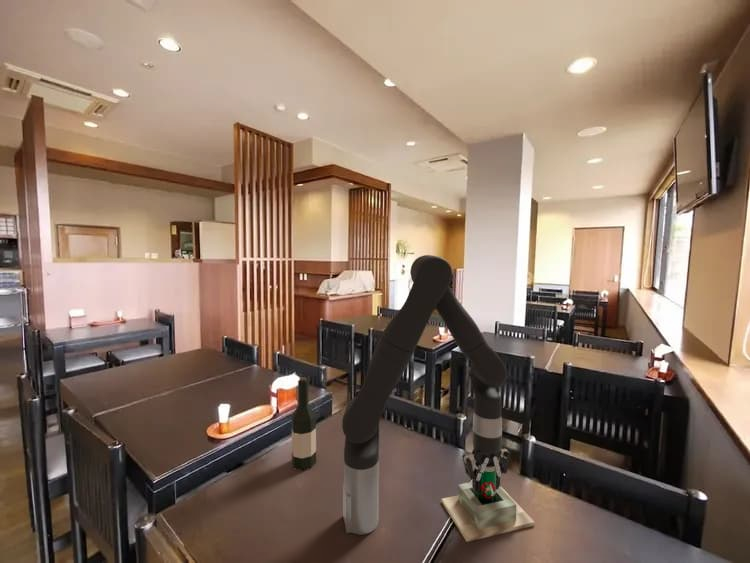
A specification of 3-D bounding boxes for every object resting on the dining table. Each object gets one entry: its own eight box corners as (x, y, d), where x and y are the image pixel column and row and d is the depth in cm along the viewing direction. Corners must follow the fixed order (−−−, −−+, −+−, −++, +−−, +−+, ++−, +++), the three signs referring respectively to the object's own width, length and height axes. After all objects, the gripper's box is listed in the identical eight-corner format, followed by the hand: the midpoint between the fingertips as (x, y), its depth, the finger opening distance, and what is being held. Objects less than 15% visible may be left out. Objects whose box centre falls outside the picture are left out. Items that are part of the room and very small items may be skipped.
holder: (466, 541, 81) (466, 520, 80) (441, 501, 94) (441, 483, 94) (534, 525, 86) (534, 505, 85) (501, 489, 99) (501, 472, 99)
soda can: (480, 495, 93) (481, 455, 93) (498, 503, 90) (499, 461, 89) (473, 505, 89) (474, 463, 89) (491, 514, 86) (492, 470, 86)
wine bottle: (321, 462, 113) (320, 378, 111) (301, 473, 107) (299, 384, 105) (307, 452, 119) (306, 372, 117) (287, 463, 113) (285, 378, 111)
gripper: (471, 440, 83) (470, 503, 84) (519, 433, 87) (517, 494, 88) (456, 426, 90) (456, 484, 91) (501, 419, 94) (500, 476, 95)
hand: (486, 489), depth 89 cm, fingers closed on soda can, 5 cm apart
